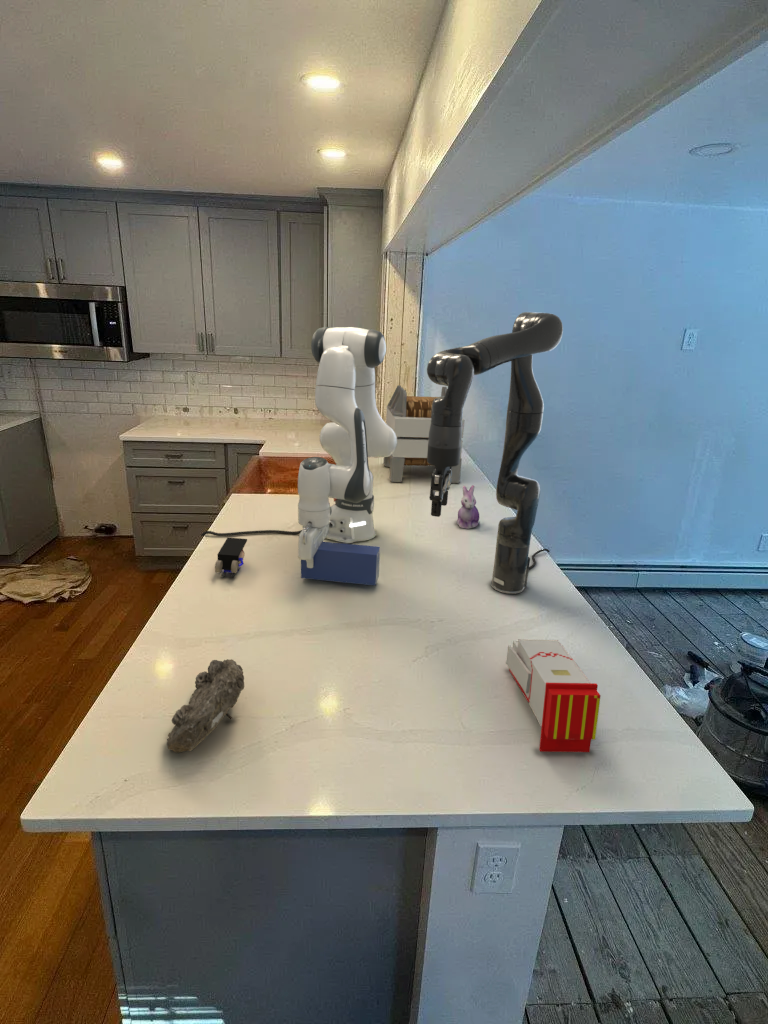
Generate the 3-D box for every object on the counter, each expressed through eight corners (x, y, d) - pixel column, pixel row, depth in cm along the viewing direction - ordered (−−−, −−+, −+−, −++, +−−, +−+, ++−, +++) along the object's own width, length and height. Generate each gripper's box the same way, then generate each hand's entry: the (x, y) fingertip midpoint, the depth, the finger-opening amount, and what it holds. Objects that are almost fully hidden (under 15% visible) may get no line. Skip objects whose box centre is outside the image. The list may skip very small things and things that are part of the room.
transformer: (382, 463, 289) (386, 382, 275) (445, 464, 293) (451, 384, 279) (390, 482, 257) (394, 392, 243) (460, 483, 261) (468, 394, 247)
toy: (554, 622, 128) (610, 691, 98) (548, 677, 130) (601, 759, 101) (501, 621, 127) (541, 690, 98) (496, 676, 130) (534, 758, 101)
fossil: (192, 660, 117) (244, 628, 112) (224, 691, 120) (276, 661, 115) (142, 746, 98) (202, 712, 93) (182, 779, 101) (242, 748, 96)
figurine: (465, 531, 205) (469, 491, 200) (449, 521, 213) (452, 483, 208) (486, 527, 209) (490, 488, 204) (470, 518, 217) (473, 481, 212)
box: (300, 578, 161) (300, 547, 158) (306, 569, 167) (306, 539, 164) (375, 585, 159) (376, 555, 155) (378, 576, 164) (379, 546, 161)
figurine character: (238, 584, 162) (249, 557, 175) (236, 562, 158) (247, 536, 172) (215, 584, 161) (227, 556, 175) (212, 561, 158) (225, 535, 171)
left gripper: (315, 530, 147) (315, 578, 152) (333, 505, 166) (332, 548, 171) (292, 528, 148) (292, 576, 153) (312, 503, 167) (312, 546, 172)
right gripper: (455, 452, 122) (449, 522, 128) (465, 439, 135) (459, 503, 141) (421, 448, 124) (417, 517, 130) (434, 435, 137) (429, 499, 142)
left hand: (314, 561), depth 162 cm, fingers closed on box, 6 cm apart
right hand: (439, 510), depth 135 cm, fingers open, 8 cm apart
